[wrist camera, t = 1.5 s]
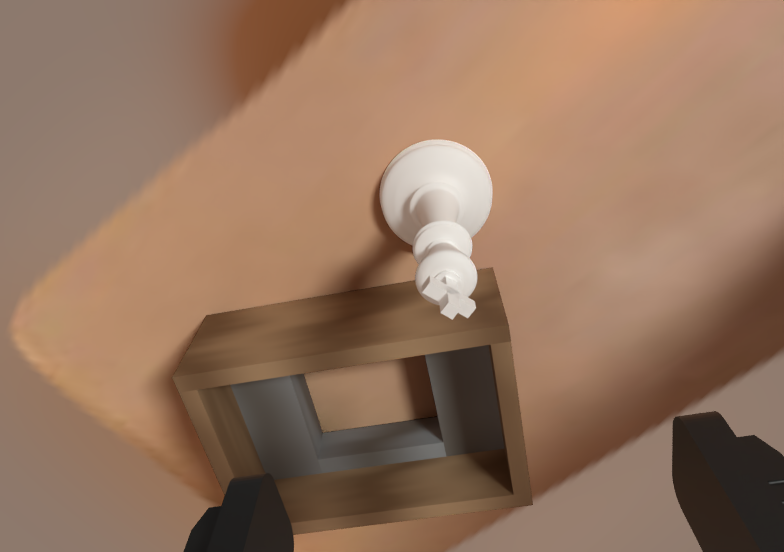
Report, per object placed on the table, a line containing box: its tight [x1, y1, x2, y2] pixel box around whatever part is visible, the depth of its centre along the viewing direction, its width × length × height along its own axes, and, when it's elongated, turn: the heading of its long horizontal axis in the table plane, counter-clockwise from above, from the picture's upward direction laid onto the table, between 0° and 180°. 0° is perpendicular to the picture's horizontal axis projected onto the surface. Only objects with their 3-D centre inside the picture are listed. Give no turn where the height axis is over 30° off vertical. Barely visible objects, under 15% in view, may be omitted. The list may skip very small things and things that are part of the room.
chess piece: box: [380, 139, 492, 320], centre depth 23 cm, size 5×5×10 cm
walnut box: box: [172, 267, 533, 535], centre depth 29 cm, size 14×10×5 cm
